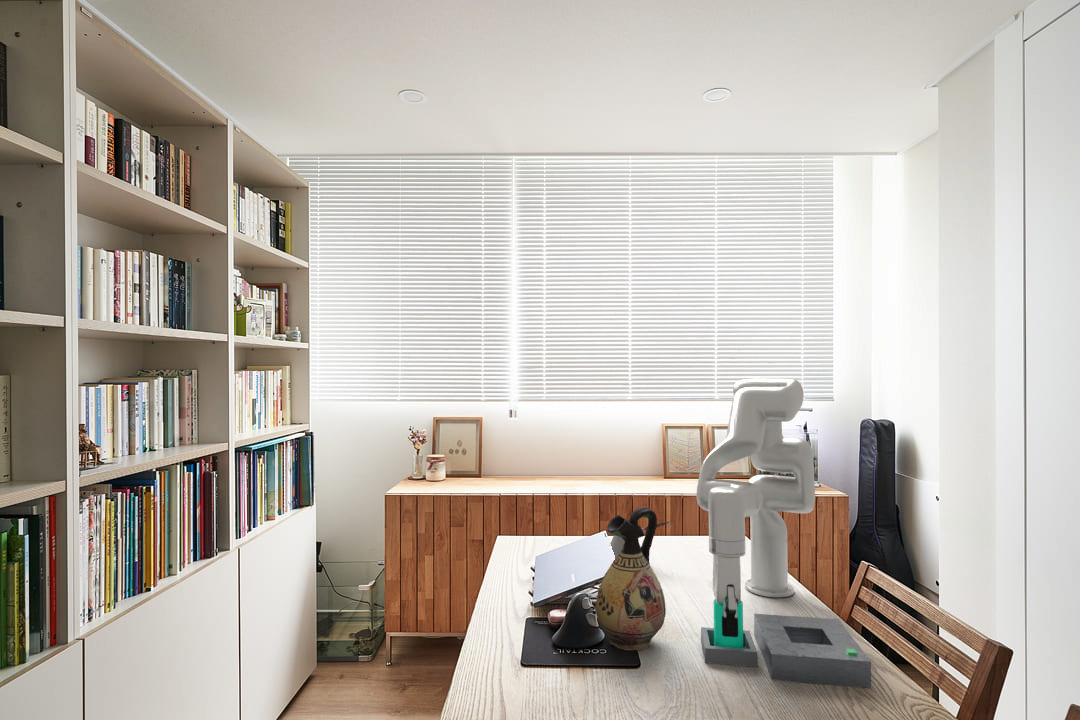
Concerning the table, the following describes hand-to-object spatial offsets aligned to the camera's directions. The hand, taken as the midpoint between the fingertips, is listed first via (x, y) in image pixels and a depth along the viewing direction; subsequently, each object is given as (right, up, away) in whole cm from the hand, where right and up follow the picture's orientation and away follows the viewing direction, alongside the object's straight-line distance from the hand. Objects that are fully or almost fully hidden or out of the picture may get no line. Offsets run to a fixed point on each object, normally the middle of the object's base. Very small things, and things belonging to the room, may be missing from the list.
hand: (728, 629), depth 128 cm
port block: (+15, -5, -3) cm, 17 cm away
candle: (0, -5, 0) cm, 5 cm away
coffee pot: (-9, -7, +59) cm, 60 cm away
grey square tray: (0, -5, 0) cm, 5 cm away
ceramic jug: (-20, -5, +5) cm, 21 cm away
